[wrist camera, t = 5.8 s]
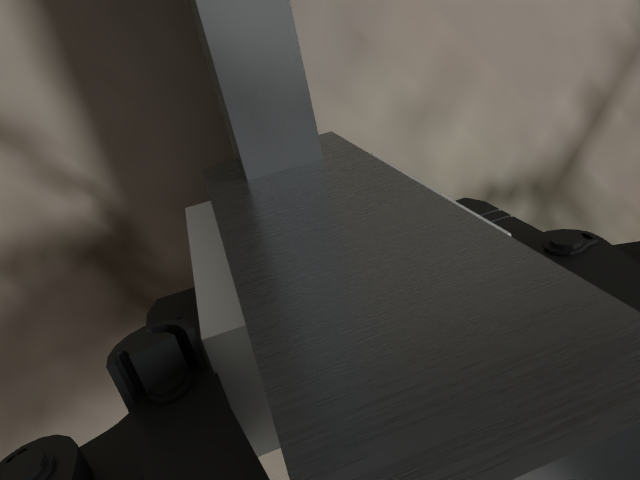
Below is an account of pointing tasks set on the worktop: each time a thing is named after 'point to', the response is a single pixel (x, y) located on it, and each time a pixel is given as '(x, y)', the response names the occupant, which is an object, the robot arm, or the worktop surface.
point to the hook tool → (400, 300)
